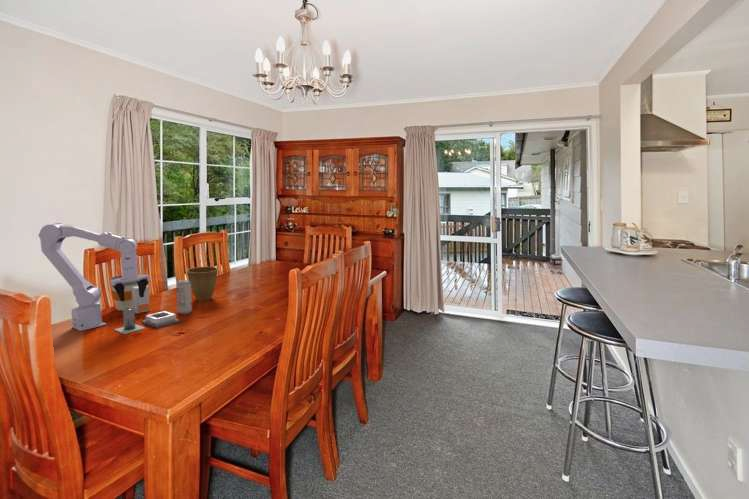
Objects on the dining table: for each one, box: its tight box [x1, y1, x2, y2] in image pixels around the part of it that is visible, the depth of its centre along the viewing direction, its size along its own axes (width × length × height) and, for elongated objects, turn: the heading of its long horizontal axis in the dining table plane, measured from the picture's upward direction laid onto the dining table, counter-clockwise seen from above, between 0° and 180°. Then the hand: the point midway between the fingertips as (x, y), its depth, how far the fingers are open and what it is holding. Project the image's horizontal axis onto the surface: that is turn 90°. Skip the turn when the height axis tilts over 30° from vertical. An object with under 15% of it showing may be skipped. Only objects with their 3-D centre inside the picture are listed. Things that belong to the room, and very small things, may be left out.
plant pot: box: [186, 266, 219, 302], centre depth 203 cm, size 15×15×16 cm
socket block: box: [141, 310, 181, 329], centre depth 166 cm, size 10×12×3 cm
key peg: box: [122, 308, 136, 330], centre depth 156 cm, size 4×4×8 cm
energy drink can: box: [175, 279, 193, 315], centre depth 179 cm, size 6×6×15 cm
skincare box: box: [132, 285, 151, 314], centre depth 180 cm, size 6×4×12 cm
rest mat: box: [114, 323, 146, 335], centre depth 157 cm, size 8×8×1 cm
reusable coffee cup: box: [109, 274, 140, 312], centre depth 184 cm, size 13×12×15 cm
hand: (132, 298), depth 164 cm, fingers open, 7 cm apart
